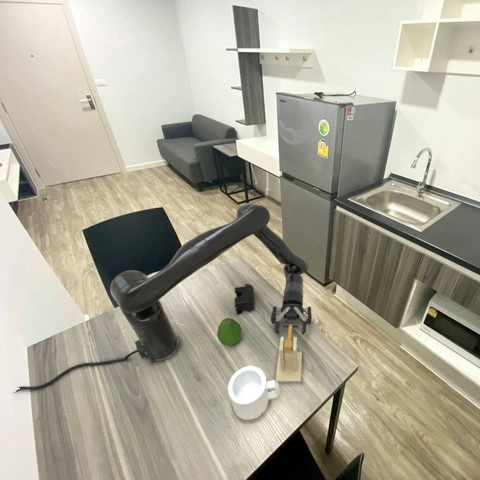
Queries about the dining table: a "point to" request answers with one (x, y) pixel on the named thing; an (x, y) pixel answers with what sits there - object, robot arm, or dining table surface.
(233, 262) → the dining table surface
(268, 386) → the mug
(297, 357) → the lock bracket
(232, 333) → the avocado
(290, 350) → the lever
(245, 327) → the dining table surface
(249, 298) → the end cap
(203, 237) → the robot arm
